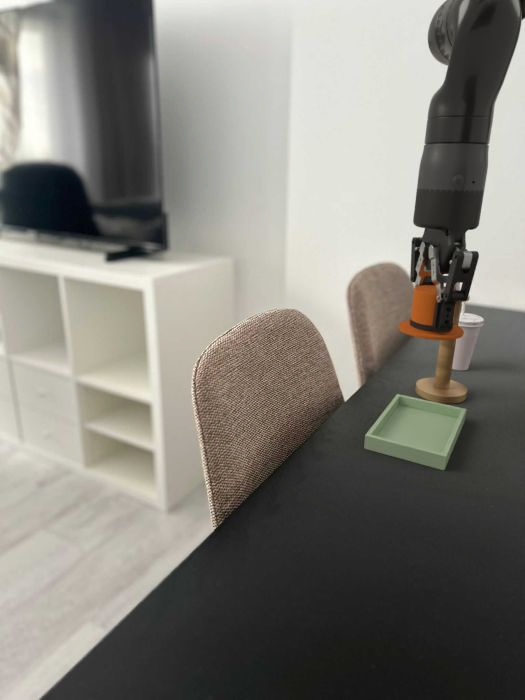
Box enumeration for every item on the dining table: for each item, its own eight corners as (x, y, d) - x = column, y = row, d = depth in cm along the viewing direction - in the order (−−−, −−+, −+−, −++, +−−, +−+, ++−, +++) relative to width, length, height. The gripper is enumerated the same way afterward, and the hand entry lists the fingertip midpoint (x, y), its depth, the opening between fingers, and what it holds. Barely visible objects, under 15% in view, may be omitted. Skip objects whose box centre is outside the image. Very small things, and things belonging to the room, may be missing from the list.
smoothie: (443, 358, 100) (454, 288, 95) (478, 365, 97) (490, 292, 92) (436, 368, 95) (446, 294, 90) (472, 375, 92) (485, 299, 87)
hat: (446, 321, 70) (452, 282, 68) (475, 339, 63) (482, 296, 61) (389, 322, 69) (394, 282, 67) (412, 340, 62) (417, 296, 60)
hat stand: (452, 383, 88) (467, 288, 83) (475, 403, 81) (492, 300, 75) (408, 384, 88) (419, 289, 82) (426, 404, 80) (440, 301, 75)
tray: (395, 405, 80) (397, 393, 79) (464, 421, 75) (466, 408, 74) (363, 448, 67) (365, 435, 66) (444, 470, 62) (446, 456, 62)
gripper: (514, 189, 54) (487, 342, 59) (453, 185, 67) (436, 310, 73) (446, 187, 53) (425, 343, 59) (398, 184, 66) (385, 310, 72)
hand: (431, 324), depth 66 cm, fingers closed on hat, 5 cm apart
